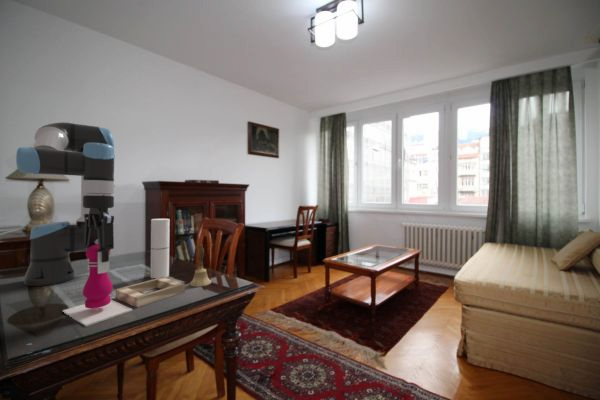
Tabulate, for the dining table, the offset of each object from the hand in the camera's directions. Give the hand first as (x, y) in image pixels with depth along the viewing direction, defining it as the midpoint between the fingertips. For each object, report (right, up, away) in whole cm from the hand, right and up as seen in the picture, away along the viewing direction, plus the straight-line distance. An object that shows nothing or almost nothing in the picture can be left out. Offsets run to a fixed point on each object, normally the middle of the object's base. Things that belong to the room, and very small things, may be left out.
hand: (98, 270), depth 82 cm
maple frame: (+8, -12, +14) cm, 21 cm away
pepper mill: (0, -11, 0) cm, 11 cm away
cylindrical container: (0, -12, +36) cm, 38 cm away
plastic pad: (0, -13, 0) cm, 13 cm away
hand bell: (+21, -13, +28) cm, 37 cm away
